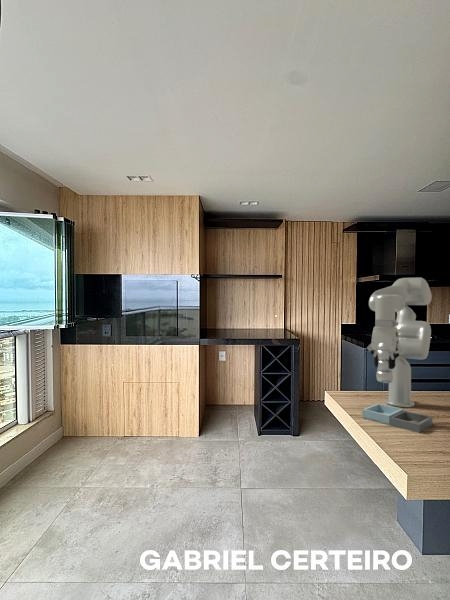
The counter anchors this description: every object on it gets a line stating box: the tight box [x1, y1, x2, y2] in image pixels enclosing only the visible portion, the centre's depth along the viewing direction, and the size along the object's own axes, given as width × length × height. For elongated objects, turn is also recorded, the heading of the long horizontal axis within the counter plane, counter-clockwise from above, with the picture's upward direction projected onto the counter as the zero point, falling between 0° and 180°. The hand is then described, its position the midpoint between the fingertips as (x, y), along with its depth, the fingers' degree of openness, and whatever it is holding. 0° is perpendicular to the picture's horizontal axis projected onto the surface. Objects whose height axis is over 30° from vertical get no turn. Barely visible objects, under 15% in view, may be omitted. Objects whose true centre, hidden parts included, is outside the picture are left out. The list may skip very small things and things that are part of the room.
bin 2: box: [388, 410, 433, 434], centre depth 139 cm, size 14×11×3 cm
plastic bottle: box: [375, 343, 393, 384], centre depth 147 cm, size 6×7×20 cm
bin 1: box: [361, 403, 405, 426], centre depth 147 cm, size 14×11×4 cm
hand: (384, 367), depth 147 cm, fingers closed on plastic bottle, 5 cm apart
